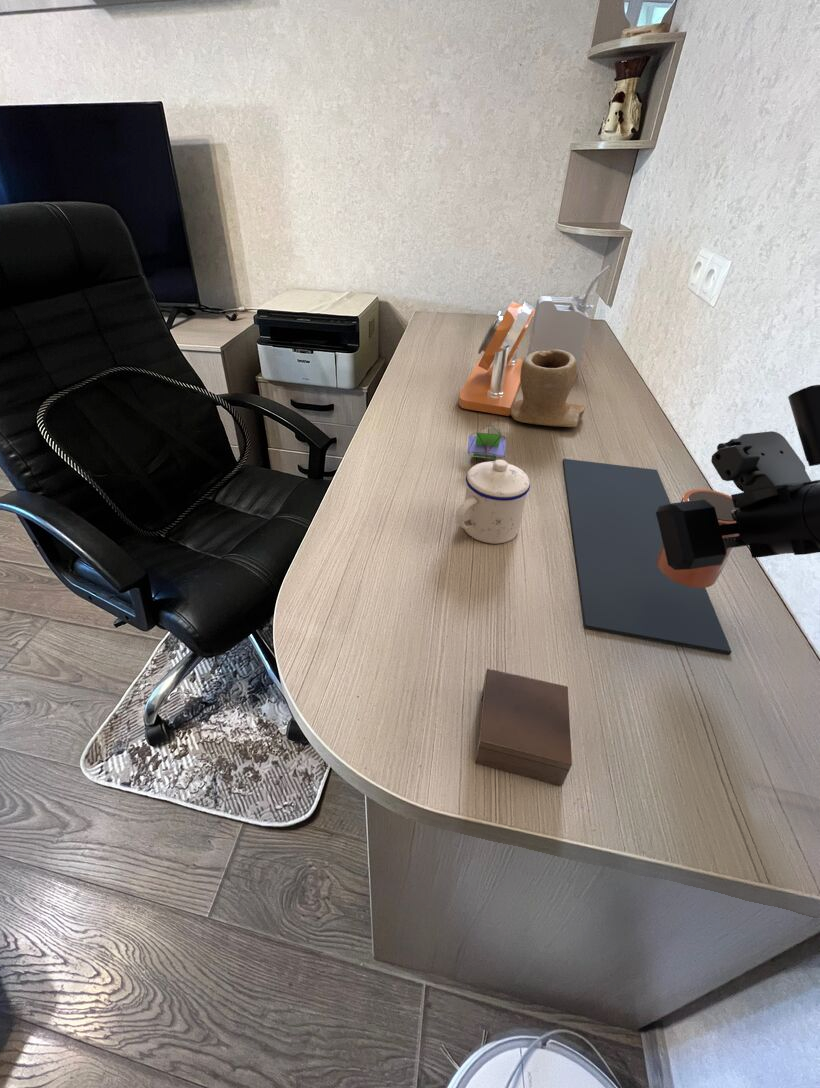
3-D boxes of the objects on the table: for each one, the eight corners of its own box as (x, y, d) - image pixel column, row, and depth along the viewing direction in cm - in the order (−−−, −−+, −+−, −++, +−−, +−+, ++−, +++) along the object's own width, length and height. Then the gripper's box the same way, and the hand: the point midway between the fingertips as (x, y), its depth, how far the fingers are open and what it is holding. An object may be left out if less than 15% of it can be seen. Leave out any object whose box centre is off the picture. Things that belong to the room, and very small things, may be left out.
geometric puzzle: (505, 467, 87) (511, 422, 87) (465, 463, 88) (471, 418, 88) (501, 471, 94) (506, 429, 94) (464, 467, 95) (469, 425, 95)
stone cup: (506, 429, 103) (518, 359, 95) (511, 405, 112) (522, 339, 104) (584, 440, 99) (604, 368, 91) (582, 415, 109) (600, 347, 100)
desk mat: (729, 655, 58) (732, 651, 58) (584, 628, 61) (585, 625, 61) (655, 472, 90) (656, 469, 89) (562, 461, 93) (563, 458, 93)
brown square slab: (562, 786, 46) (572, 764, 44) (474, 763, 48) (480, 741, 46) (559, 708, 52) (567, 686, 50) (482, 690, 54) (487, 667, 52)
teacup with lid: (488, 502, 82) (498, 440, 76) (532, 530, 76) (547, 466, 70) (433, 529, 77) (439, 464, 70) (476, 562, 71) (487, 495, 64)
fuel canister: (584, 366, 132) (611, 264, 118) (588, 373, 128) (615, 268, 114) (525, 362, 134) (543, 262, 120) (526, 369, 130) (546, 266, 116)
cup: (729, 586, 55) (765, 522, 50) (675, 589, 55) (706, 525, 50) (695, 549, 60) (725, 487, 55) (645, 551, 60) (671, 489, 55)
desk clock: (528, 369, 130) (543, 288, 119) (511, 418, 107) (528, 323, 96) (481, 363, 134) (491, 284, 122) (454, 409, 111) (464, 317, 99)
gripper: (895, 413, 44) (743, 457, 59) (708, 432, 41) (599, 473, 56) (936, 538, 42) (768, 551, 57) (744, 567, 39) (621, 572, 54)
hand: (690, 534), depth 56 cm, fingers closed on cup, 6 cm apart
